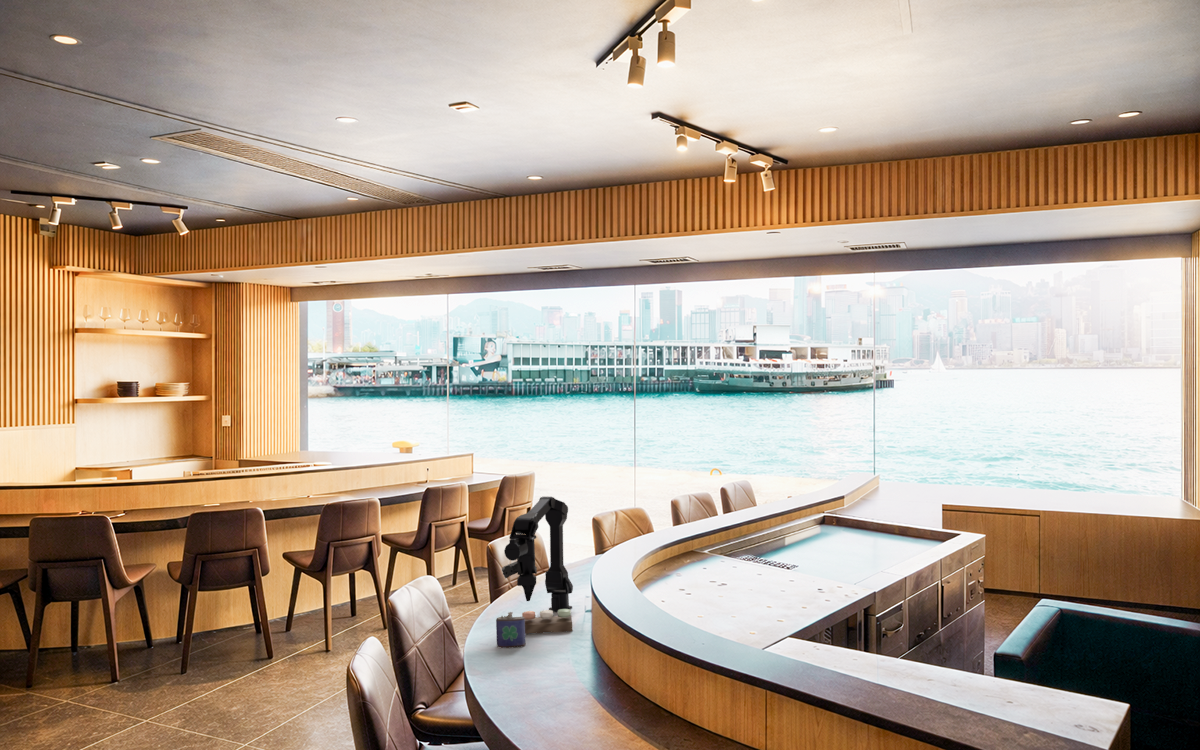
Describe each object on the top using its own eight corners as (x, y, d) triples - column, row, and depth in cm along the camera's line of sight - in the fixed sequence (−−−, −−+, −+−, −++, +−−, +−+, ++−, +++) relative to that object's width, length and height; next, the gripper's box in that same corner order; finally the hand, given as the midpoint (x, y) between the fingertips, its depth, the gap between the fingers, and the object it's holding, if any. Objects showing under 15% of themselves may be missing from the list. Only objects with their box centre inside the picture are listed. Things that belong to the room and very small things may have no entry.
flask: (526, 644, 229) (524, 610, 230) (524, 647, 226) (523, 613, 227) (497, 645, 230) (496, 611, 230) (495, 648, 227) (494, 614, 227)
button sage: (557, 617, 243) (557, 612, 243) (557, 614, 247) (557, 609, 247) (570, 616, 243) (570, 612, 243) (570, 613, 247) (570, 608, 247)
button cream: (540, 618, 242) (539, 614, 242) (540, 615, 246) (540, 610, 246) (553, 618, 242) (552, 613, 242) (553, 614, 247) (552, 609, 247)
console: (521, 634, 240) (521, 625, 240) (522, 627, 248) (522, 618, 248) (572, 631, 241) (572, 622, 241) (571, 623, 249) (571, 615, 249)
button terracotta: (522, 620, 242) (521, 615, 242) (522, 616, 246) (522, 611, 246) (535, 619, 242) (535, 614, 242) (535, 615, 246) (535, 610, 246)
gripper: (504, 550, 253) (505, 594, 253) (501, 561, 235) (502, 609, 234) (535, 548, 254) (537, 592, 254) (535, 559, 236) (536, 607, 235)
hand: (528, 600), depth 244 cm, fingers closed
